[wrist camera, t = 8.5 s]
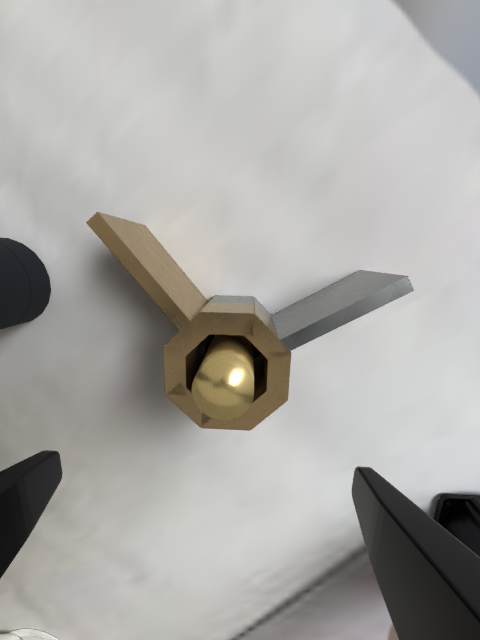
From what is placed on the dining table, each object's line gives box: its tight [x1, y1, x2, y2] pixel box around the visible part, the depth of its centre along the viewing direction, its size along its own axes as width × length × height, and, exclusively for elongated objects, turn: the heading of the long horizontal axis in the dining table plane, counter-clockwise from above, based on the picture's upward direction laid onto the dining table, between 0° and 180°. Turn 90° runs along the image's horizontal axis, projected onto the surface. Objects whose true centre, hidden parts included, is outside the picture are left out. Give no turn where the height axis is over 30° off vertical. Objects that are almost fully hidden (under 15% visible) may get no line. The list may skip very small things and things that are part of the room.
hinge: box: [86, 212, 414, 430], centre depth 17 cm, size 12×16×6 cm
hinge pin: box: [192, 334, 254, 420], centre depth 17 cm, size 3×3×8 cm
